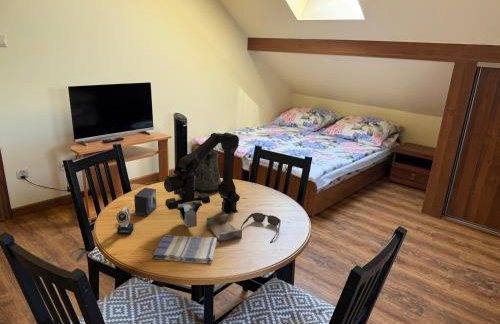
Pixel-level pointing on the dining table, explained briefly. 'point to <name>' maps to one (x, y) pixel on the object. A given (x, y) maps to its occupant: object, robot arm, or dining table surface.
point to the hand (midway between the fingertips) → (188, 218)
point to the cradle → (223, 228)
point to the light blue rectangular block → (189, 216)
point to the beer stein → (208, 174)
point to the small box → (145, 202)
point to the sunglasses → (260, 218)
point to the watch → (124, 222)
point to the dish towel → (186, 249)
